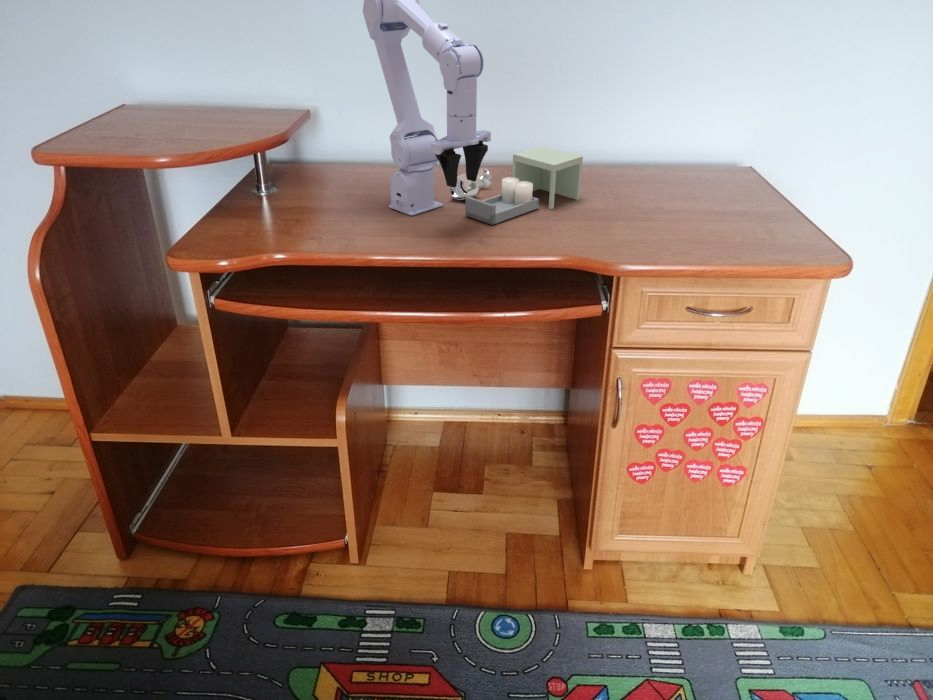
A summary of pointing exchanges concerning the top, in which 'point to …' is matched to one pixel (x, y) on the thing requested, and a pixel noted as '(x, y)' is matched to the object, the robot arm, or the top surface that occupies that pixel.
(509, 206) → the tray
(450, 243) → the top surface
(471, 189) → the wineglass
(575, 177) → the block
